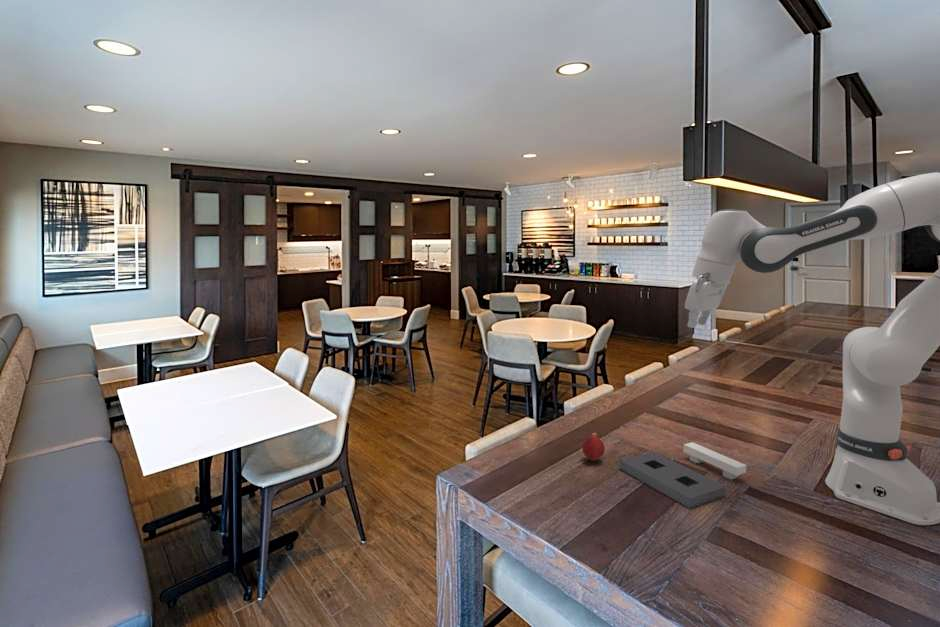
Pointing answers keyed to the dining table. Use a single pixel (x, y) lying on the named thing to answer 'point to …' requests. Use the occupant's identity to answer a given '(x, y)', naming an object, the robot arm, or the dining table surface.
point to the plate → (673, 479)
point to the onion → (593, 447)
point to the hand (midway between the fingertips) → (696, 325)
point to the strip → (715, 460)
